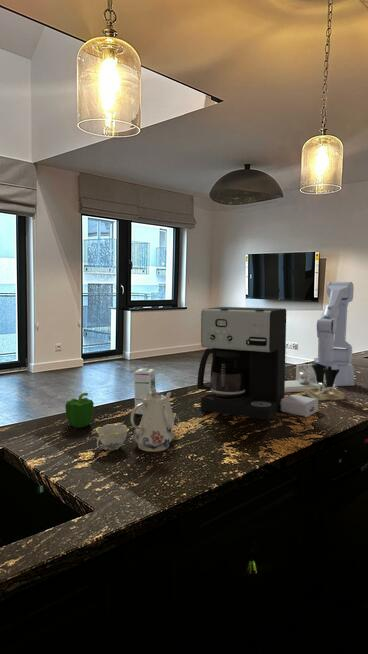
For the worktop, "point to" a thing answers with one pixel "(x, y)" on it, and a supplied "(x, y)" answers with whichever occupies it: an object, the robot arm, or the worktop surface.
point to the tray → (332, 396)
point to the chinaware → (144, 425)
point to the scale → (294, 385)
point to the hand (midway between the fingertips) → (324, 384)
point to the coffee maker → (244, 360)
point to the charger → (299, 405)
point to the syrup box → (143, 385)
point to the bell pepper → (79, 411)
